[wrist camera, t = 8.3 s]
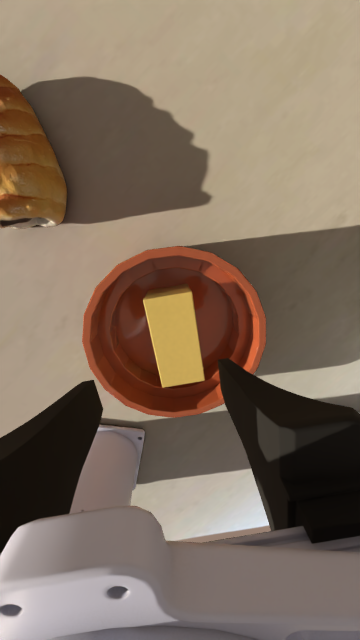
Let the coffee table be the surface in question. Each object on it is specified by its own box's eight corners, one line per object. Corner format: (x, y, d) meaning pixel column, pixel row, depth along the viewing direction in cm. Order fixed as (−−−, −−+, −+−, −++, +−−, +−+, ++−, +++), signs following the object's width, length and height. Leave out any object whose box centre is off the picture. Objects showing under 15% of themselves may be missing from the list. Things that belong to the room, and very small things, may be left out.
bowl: (226, 394, 24) (238, 425, 19) (95, 376, 22) (78, 406, 18) (264, 264, 20) (291, 268, 15) (107, 232, 18) (88, 227, 14)
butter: (198, 358, 22) (205, 381, 18) (163, 364, 22) (162, 388, 18) (187, 283, 19) (192, 291, 15) (147, 290, 19) (142, 299, 15)
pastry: (-53, 91, 15) (-125, 38, 11) (44, 79, 15) (5, 24, 11) (-1, 235, 18) (-44, 231, 14) (81, 224, 18) (59, 217, 14)
